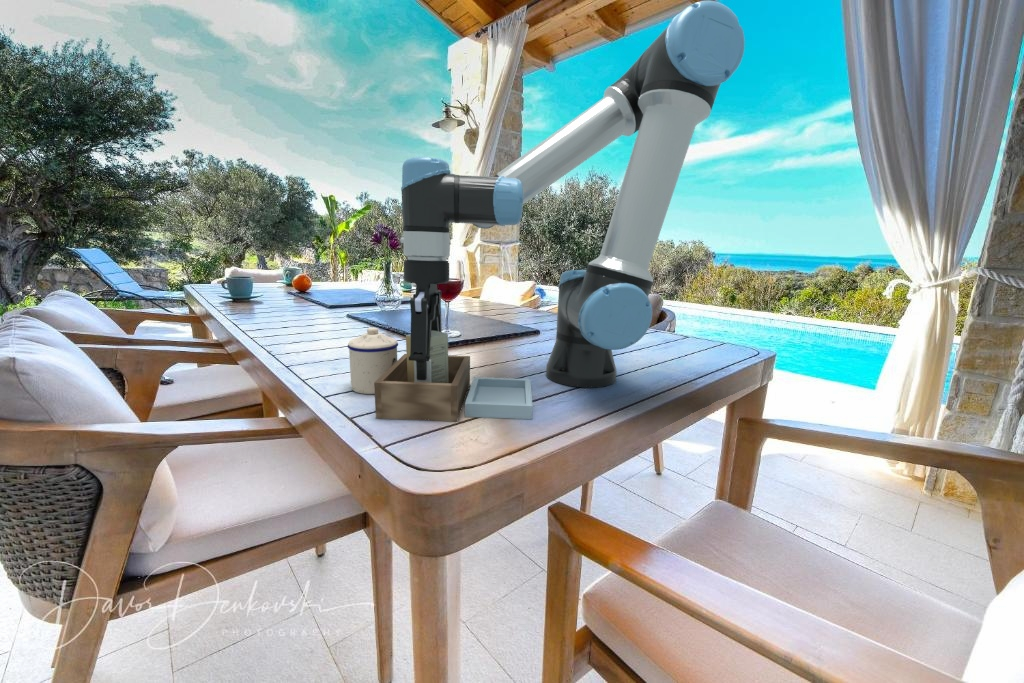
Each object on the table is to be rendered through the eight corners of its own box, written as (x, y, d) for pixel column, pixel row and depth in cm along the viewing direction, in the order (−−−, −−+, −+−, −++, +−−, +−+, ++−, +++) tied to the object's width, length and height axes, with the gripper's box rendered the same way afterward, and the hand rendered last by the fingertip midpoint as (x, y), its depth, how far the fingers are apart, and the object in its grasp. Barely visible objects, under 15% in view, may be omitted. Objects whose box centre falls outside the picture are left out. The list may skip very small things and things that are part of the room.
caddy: (469, 384, 84) (470, 356, 82) (457, 421, 66) (457, 385, 65) (405, 382, 84) (404, 353, 82) (375, 418, 66) (374, 382, 65)
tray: (529, 390, 82) (529, 379, 81) (531, 419, 68) (532, 406, 67) (473, 388, 82) (473, 377, 81) (464, 416, 68) (465, 403, 68)
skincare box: (434, 392, 79) (434, 329, 76) (449, 398, 76) (449, 333, 73) (406, 401, 74) (404, 333, 71) (420, 407, 71) (419, 338, 68)
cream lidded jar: (400, 393, 78) (398, 332, 75) (348, 397, 75) (344, 334, 72) (397, 374, 89) (395, 320, 86) (352, 376, 86) (349, 321, 83)
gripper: (418, 256, 79) (420, 371, 84) (385, 259, 59) (390, 409, 65) (457, 257, 79) (457, 372, 84) (437, 261, 59) (438, 411, 65)
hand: (428, 388), depth 74 cm, fingers closed on skincare box, 7 cm apart
